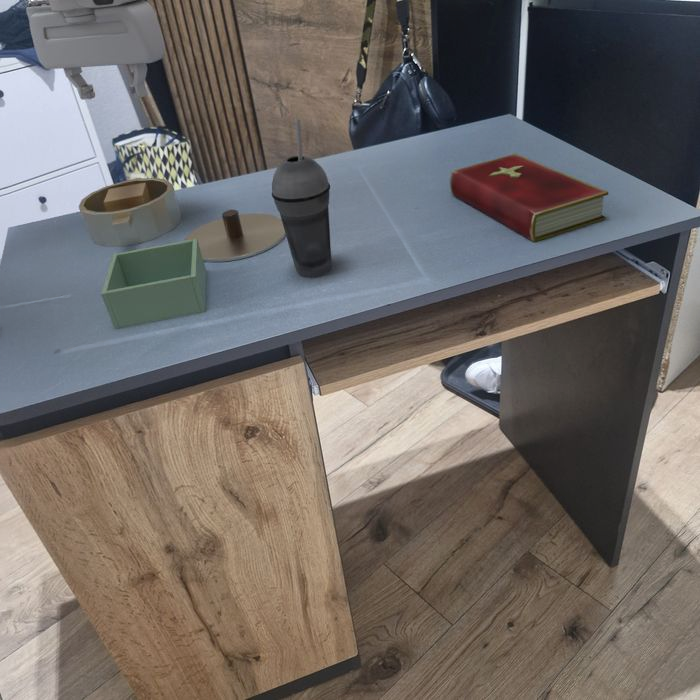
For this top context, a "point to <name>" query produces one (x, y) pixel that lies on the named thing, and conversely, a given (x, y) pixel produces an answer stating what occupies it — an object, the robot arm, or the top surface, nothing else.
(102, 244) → the grey round open container
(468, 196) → the hardcover book
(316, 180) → the beverage cup
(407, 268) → the top surface
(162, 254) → the bin
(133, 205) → the block
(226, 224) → the pan lid
